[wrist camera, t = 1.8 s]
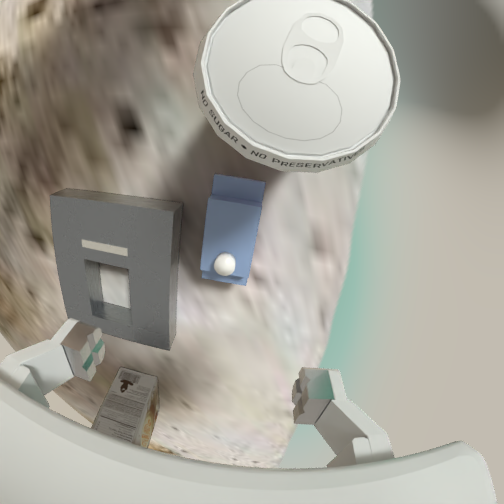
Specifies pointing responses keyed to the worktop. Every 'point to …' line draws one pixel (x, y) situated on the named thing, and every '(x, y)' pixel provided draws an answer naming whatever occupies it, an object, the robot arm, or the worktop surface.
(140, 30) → the worktop surface
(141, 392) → the coffee box
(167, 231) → the plate
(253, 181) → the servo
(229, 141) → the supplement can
